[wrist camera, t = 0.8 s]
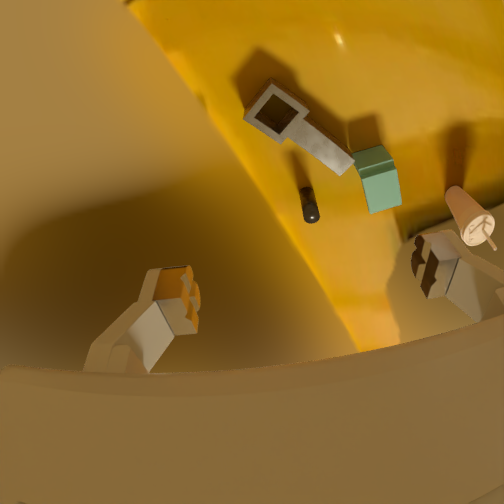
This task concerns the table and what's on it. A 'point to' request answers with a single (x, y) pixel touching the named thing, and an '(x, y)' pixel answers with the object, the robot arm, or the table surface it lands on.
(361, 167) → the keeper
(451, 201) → the smoothie
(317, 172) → the table surface
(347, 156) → the link
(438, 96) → the table surface
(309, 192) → the pintle
